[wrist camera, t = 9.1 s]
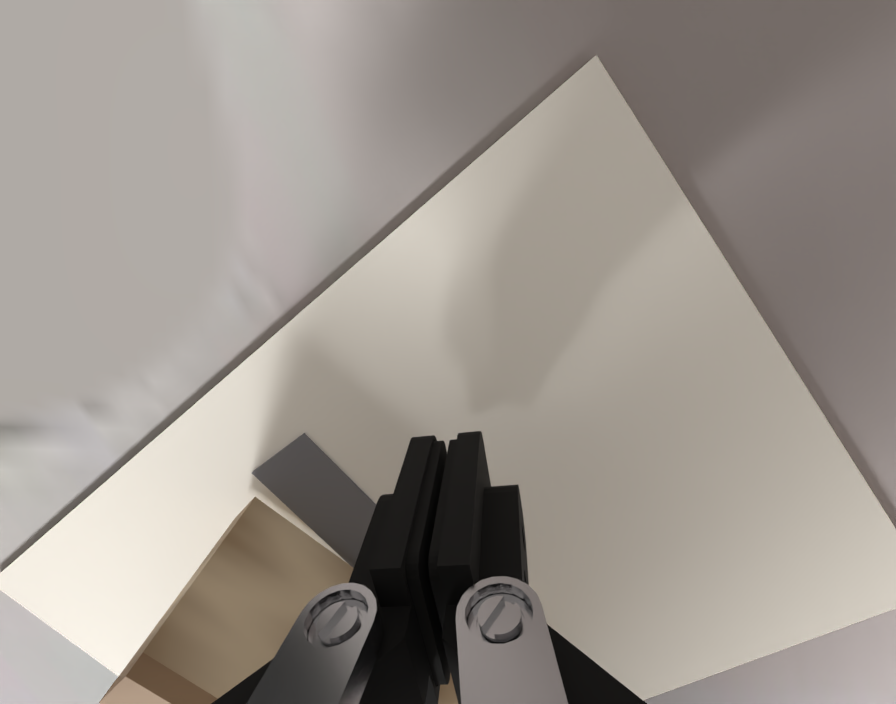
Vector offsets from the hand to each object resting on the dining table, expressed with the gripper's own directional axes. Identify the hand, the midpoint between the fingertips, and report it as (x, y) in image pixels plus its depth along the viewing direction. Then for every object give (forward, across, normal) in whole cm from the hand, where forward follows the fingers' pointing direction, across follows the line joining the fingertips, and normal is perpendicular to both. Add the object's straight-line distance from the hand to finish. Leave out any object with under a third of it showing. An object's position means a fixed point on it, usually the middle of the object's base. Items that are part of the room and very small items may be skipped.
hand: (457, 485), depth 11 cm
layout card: (+3, +3, +6) cm, 7 cm away
